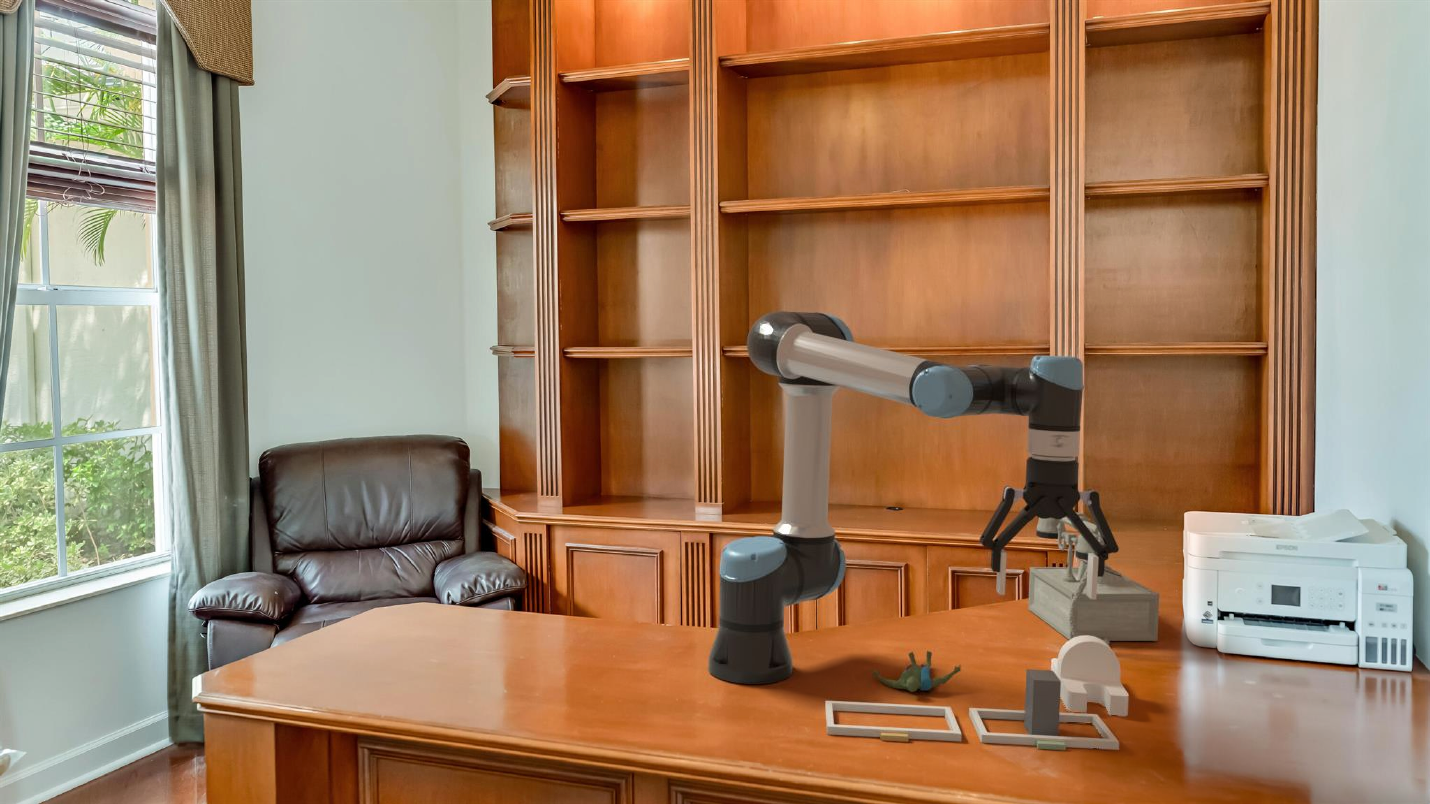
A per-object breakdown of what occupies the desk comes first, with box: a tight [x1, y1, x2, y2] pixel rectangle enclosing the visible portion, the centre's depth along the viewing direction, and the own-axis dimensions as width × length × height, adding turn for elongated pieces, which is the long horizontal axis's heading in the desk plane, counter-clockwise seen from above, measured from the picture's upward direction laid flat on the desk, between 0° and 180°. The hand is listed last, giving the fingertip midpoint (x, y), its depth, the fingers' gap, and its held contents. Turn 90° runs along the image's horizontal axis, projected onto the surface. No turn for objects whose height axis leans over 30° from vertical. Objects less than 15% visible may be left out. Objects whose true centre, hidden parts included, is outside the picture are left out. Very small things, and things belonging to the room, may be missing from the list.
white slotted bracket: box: [1050, 635, 1130, 717], centre depth 171 cm, size 10×18×10 cm, turn 170°
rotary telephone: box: [1028, 511, 1160, 646], centre depth 211 cm, size 32×20×25 cm, turn 3°
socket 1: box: [824, 700, 962, 742], centre depth 156 cm, size 20×12×1 cm, turn 85°
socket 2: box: [968, 707, 1120, 751], centre depth 154 cm, size 20×12×1 cm, turn 85°
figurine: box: [871, 650, 962, 693], centre depth 176 cm, size 16×4×18 cm
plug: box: [1023, 668, 1061, 736], centre depth 155 cm, size 4×6×9 cm
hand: (1045, 595), depth 153 cm, fingers open, 13 cm apart
